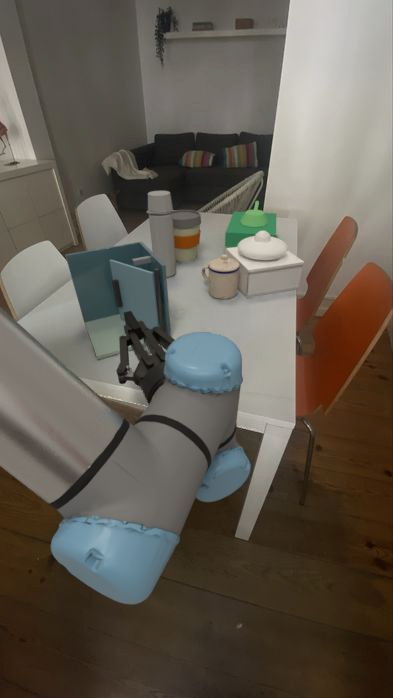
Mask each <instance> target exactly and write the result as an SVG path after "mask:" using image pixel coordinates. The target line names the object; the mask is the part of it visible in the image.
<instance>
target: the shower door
mask: <svg viewBox="0 0 393 698" xmlns="http://www.w3.org/2000/svg"><path fill="white" fill-rule="evenodd" d="M109 261H110V266H111V271H112V276H113V281H112V285H113V290H114V295H115V300H116V305H117V307H118V308H119V313H120V318H121V319H122V320H124V321H125V318H124V312H128V311H131V312H132V313H133V315H134V317H135V318H136V320H137V321H143V322H144V324H145V325H146V327H147V328H149V329H153V327H159V319H158V310H157V301H156V291H155V282H154V273H153V272H150V271H147V270H144V269H141V268H137V267H134V266H131V265H128V264H124V263H121V262H118V261H115V260H109Z"/></svg>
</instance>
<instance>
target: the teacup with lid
mask: <svg viewBox="0 0 393 698" xmlns="http://www.w3.org/2000/svg"><path fill="white" fill-rule="evenodd" d="M239 268H240V265H239V263H238V262H237V261H236V260H234V259H230V258H228V256H227V255H226V254H225V253H223V254H221V255H220V257H218V258H214V259H212V260H210V261H209V262H208V263H207V264H206V265H204V266H202V267H201V276H202V278H203V280H204V281H205V282H207V283H208V294H209V295H210V296H211V297H212V298H215V299H219V300H229V299H232V298H235V297H236V295H238V290H239V289H238V274H239ZM206 269H208V276H207V273H206Z"/></svg>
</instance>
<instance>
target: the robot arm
mask: <svg viewBox="0 0 393 698" xmlns="http://www.w3.org/2000/svg"><path fill="white" fill-rule="evenodd" d="M124 318H125V323H126V325H124V331H125V334H126V336H120V337H119V344H120V353H119V364H118V367H117V368H116V375H117V379H118V380H117V381H118V383H119V384H120V385H124V384H126V383H127V382H133V383H134V384H135V385H136V386H138V387H139V388H140V389H141V391H142V394H143V395H144V398H145V399H146V401H147V404H148V406H146V408H145V409H144V411H143V412H142V414H141V415H140V416H139V418H138V419H137V420H136V422H134V424H132V423H131V422H130V421H128V419H126V418H125V417H123V416H122V415H121V414H120V413H119V412H118V411H117V410H116V409H115V408H113V407H112V406H111V405H110V404H109V403H107V401H105V400H104V399H103V398H102V397H101V396H100V395H99V394H97V392H95V390H93V389H92V388H91V387H90V386H89V385H88V384H87V383H86V382H84V380H82V378H80V377H79V376H78V375H76V374H75V372H73V371H72V370H71V369H70V368H69V367H68V366H66V364H65V363H63V362H62V361H61V360H60V359H59V358H57V356H56V355H54V354H53V353H52V352H51V351H50V350H48V348H46V346H44V345H43V344H42V343H41V342H40V341H38V339H36V338H35V337H34V336H33V335H32V334H31V333H30V332H29V331H27V329H25V328H24V327H23V326H22V325H21V324H20V323H18V321H17V320H16V319H14V318H13V317H12V316H11V315H10V314H9V313H7V312H6V311H5V310H4V309H3V308H2V307H1V306H0V467H1V468H2V469H3V470H5V471H6V472H7V473H9V474H10V475H11V476H12V477H14V478H15V479H16V480H18V481H19V482H20V483H21V484H22V485H24V486H25V487H27V488H28V489H29V490H30V491H31V492H33V493H34V494H35V495H36V496H38V497H39V498H40V499H42V500H43V501H44V502H45V503H47V504H48V505H49V506H50V507H51V508H53V509H54V511H55V510H56V511H57V512H58V513H59V514H60V515H61V516H62V517H63V519H62V520H61V521H60V522H59V524H58V529H57V530H56V532H55V533H54V535H53V537H52V539H51V542H50V551H51V554H52V556H53V557H54V559H55V560H56V561H57V562H58V563H59V564H60V565H62V566H63V567H64V568H65V569H66V570H67V571H68V572H69V573H70V574H71V575H72V576H74V577H75V578H76V579H78V580H80V582H82V583H83V584H85V585H87V587H90V588H91V589H92V590H94V591H96V592H98V593H100V594H101V595H103V596H105V597H107V598H108V599H111V600H113V601H114V602H118V603H120V604H124V605H138V604H140V603H142V602H144V601H145V600H147V599H148V598H149V596H150V595H151V594H152V592H153V591H154V588H155V587H156V585H157V583H158V581H159V579H160V578H161V575H162V574H163V571H164V570H165V568H166V566H167V564H168V562H169V560H170V558H171V557H172V555H173V553H174V551H175V549H176V547H177V545H178V544H179V543H180V541H181V537H180V535H181V533H182V530H183V528H184V526H185V523H186V522H187V518H188V516H189V514H190V511H191V510H192V507H193V505H194V502H195V500H196V499H197V500H198V501H200V502H203V503H213V502H218V501H220V500H222V499H224V498H226V497H228V496H230V495H232V494H233V493H234V492H236V491H237V490H238V489H240V488H241V487H242V486H243V484H244V483H246V481H247V479H248V478H249V475H250V473H251V469H252V465H251V462H250V460H249V458H248V457H247V456H248V455H246V452H244V451H245V450H244V448H243V446H242V445H240V444H239V442H238V440H237V438H236V437H237V428H238V427H237V426H238V425H237V423H238V422H237V421H238V420H237V419H238V413H239V403H240V395H241V387H242V384H243V382H244V377H243V356H242V353H241V351H240V348H239V347H238V345H237V344H236V343H235V342H234V341H233V340H231V339H230V338H228V337H226V336H225V335H222V334H217V333H212V332H210V331H196V332H190V333H186V334H184V335H181V336H179V337H177V338H176V339H174V337H173V336H172V335H171V336H169V335H168V334H167V333H166V332H164V331H163V330H162V329H160V328H159V327H153V329H149V328H147V327H146V325H145V324H144V322H143V321H137V320H136V318H135V317H134V315H133V313H132V312H131V311H128V312H124ZM142 339H144V344H146V345H147V346H146V347H147V349H148V350H149V352H148V351H147V350H146V348H145V346H144V347H143V345H142V344H141V342H140V340H142ZM130 345H131V347H132V349H133V350H132V352H133V353H134V354H135V357H136V358H137V361H138V363H137V366H136V368H135V370H134V372H133V369H132V367H130V354H129V351H128V346H130ZM149 353H150V354H149Z"/></svg>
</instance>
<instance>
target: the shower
mask: <svg viewBox="0 0 393 698" xmlns="http://www.w3.org/2000/svg"><path fill="white" fill-rule="evenodd" d="M64 255H65V258H66V259H65V260H66V262H67V266H68V269H69V274H70V277H71V280H72V284H73V288H74V291H75V296H76V298H77V301H78V306H79V309H80V312H81V316H82V320H83V323H84V326H85V329H86V332H87V334H88V338H89V340H90V342H91V346H92V348H93V351H94V354H95V357H96V359H97V360H103V359H105V358H109V357H112V356H115V355H120V344H119V337H120V336H126V334H125V331H124V325H126V323H125V321H124V320H122V319H121V318H120V313H119V308H118V307H117V305H116V300H115V295H114V290H113V285H112V281H113V276H112V271H111V266H110V261H109V260H115V261H118V262H121V263H124V264H128V265H131V266H134V267H137V268H141V269H144V270H147V271H150V272H153V273H154V282H155V291H156V301H157V310H158V319H159V328H160V329H162V330H163V331H164V332H166V333H167V334H168V335H169V336H171V337H172V329H171V317H170V316H171V315H170V306H169V304H170V303H169V292H168V282H167V281H168V280H167V279H168V277H167V278H166V266H165V264H164V263H163V262H162V261H161V260H160V259H159V258H158V257H157V256H156V255H155V254H154V253H153V251H152V250H151V249H150V248H149V246H147V245H146V244H145V243H144V242H143V241H136V242H130V243H124V244H119V245H118V244H117V245H112V246H107V247H101V248H96V249H89V250H83V251H78V252H72V253H67V254H66V253H65V254H64ZM140 342H141V344H142V345H143V347H144V348H145V347H147V345H146V344H144V339H142V340H140ZM130 351H133V349H132V347H131V345H130V346H128V352H130Z"/></svg>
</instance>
